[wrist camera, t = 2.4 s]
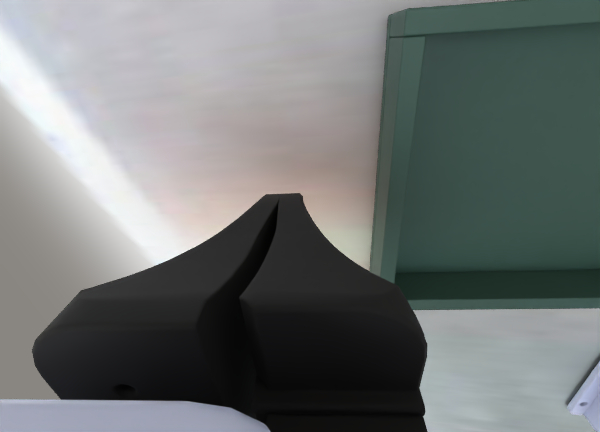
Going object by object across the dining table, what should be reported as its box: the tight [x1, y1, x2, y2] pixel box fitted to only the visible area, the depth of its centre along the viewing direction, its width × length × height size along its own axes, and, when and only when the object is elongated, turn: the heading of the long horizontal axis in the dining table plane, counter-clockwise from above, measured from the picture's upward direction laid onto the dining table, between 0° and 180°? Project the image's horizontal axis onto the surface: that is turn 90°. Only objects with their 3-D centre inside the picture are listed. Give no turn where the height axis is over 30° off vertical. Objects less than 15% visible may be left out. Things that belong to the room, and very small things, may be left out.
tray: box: [370, 0, 600, 310], centre depth 12 cm, size 12×14×2 cm
